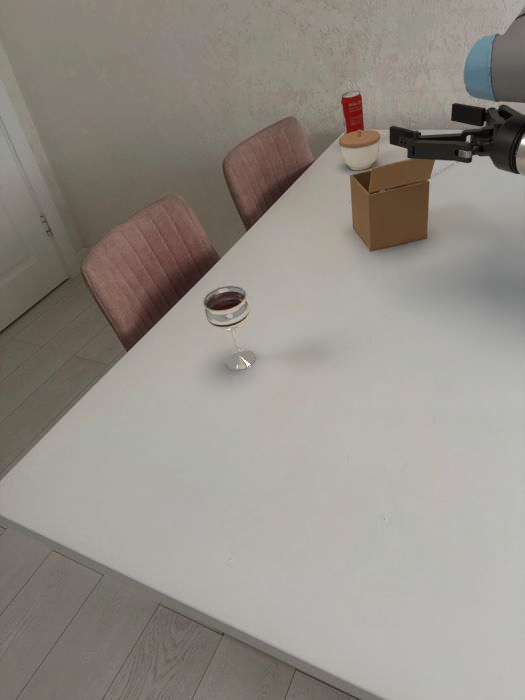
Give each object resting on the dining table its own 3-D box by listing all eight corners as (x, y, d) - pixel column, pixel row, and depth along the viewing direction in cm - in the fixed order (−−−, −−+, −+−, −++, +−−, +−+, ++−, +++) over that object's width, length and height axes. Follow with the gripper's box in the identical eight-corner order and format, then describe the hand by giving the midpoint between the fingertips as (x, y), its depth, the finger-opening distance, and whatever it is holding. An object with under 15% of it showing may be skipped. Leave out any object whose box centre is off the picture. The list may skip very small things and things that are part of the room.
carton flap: (429, 177, 93) (429, 179, 93) (368, 191, 92) (369, 192, 92) (436, 152, 88) (436, 154, 87) (371, 167, 87) (372, 168, 87)
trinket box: (332, 169, 137) (330, 134, 132) (358, 156, 142) (357, 121, 136) (362, 176, 130) (361, 139, 125) (389, 162, 135) (388, 125, 129)
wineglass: (269, 352, 81) (256, 290, 73) (244, 378, 77) (228, 315, 69) (236, 342, 84) (220, 282, 77) (211, 366, 80) (192, 305, 73)
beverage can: (367, 143, 149) (365, 88, 140) (361, 151, 145) (358, 95, 136) (348, 143, 152) (345, 90, 142) (341, 151, 147) (338, 96, 138)
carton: (427, 238, 100) (429, 181, 93) (370, 251, 100) (368, 195, 93) (404, 215, 110) (405, 162, 102) (352, 227, 109) (349, 174, 102)
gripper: (462, 202, 68) (364, 168, 83) (586, 147, 75) (475, 125, 90) (467, 146, 63) (362, 120, 79) (599, 93, 70) (479, 79, 86)
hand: (422, 123), depth 84 cm, fingers open, 13 cm apart
